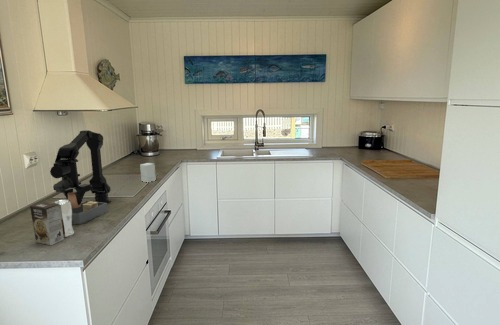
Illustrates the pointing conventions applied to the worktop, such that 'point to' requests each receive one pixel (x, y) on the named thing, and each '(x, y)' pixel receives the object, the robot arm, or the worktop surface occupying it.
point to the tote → (88, 213)
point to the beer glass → (66, 217)
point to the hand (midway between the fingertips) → (75, 204)
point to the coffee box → (47, 223)
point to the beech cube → (89, 206)
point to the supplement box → (147, 172)
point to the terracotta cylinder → (73, 200)
